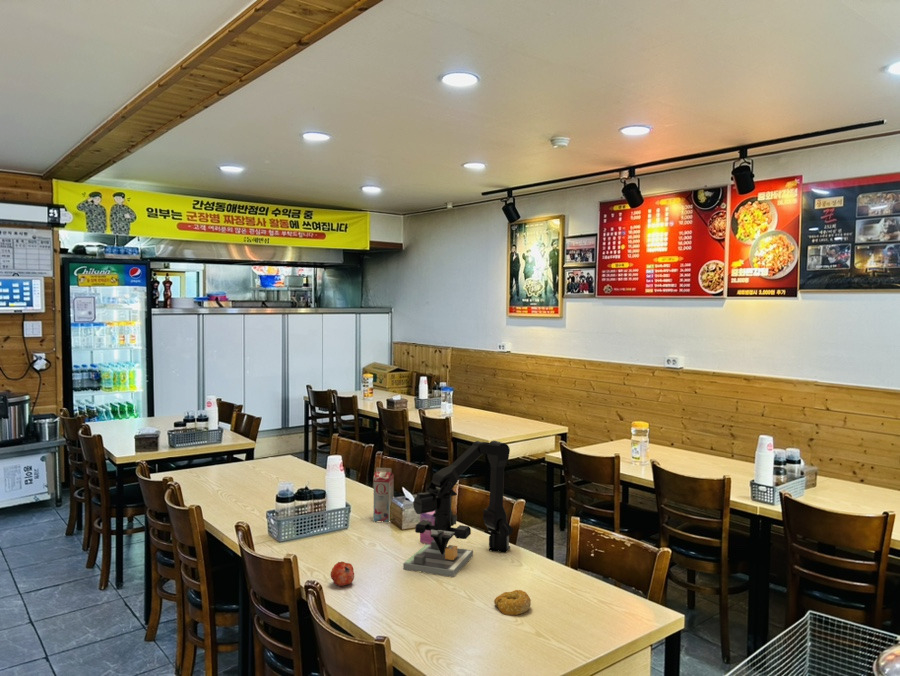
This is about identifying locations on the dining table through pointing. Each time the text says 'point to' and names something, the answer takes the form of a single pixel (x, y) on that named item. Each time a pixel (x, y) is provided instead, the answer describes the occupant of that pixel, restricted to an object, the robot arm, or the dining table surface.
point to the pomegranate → (342, 573)
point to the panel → (437, 561)
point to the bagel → (513, 602)
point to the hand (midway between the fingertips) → (442, 553)
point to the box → (426, 536)
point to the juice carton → (383, 493)
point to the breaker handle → (451, 552)
